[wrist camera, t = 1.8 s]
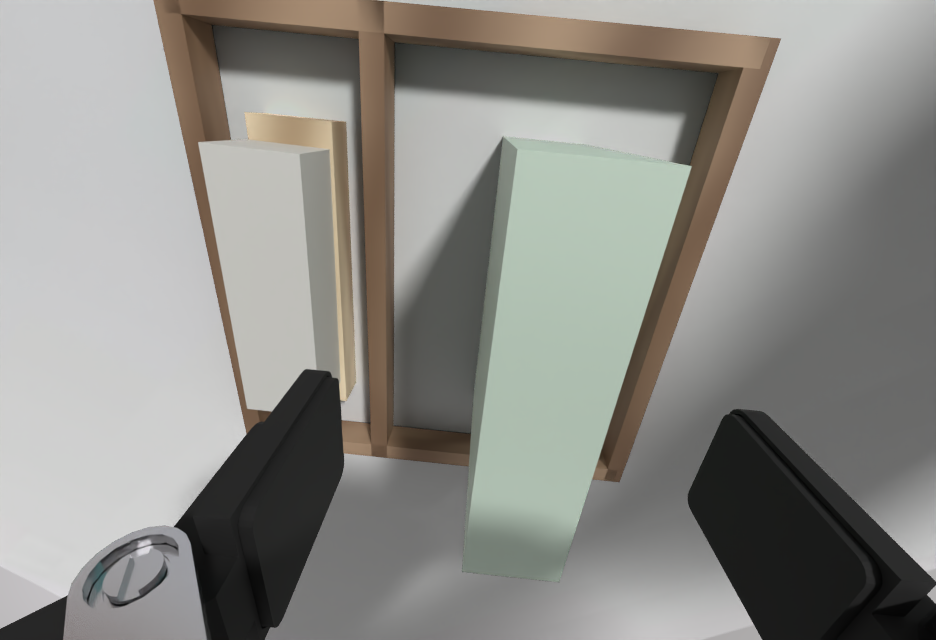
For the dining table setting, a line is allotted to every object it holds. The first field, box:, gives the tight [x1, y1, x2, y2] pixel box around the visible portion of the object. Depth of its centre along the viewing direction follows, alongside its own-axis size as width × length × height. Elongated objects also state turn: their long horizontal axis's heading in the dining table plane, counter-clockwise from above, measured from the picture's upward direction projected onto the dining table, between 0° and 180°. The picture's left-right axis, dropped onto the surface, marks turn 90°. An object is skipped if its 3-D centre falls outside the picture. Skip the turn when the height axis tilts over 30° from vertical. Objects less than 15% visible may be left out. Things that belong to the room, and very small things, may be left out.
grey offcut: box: [198, 139, 341, 412], centre depth 15 cm, size 3×10×2 cm, turn 174°
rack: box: [154, 0, 781, 482], centre depth 17 cm, size 19×19×2 cm
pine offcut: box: [245, 112, 356, 401], centre depth 17 cm, size 3×12×2 cm, turn 174°
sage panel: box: [462, 136, 692, 582], centre depth 13 cm, size 3×12×9 cm, turn 175°
